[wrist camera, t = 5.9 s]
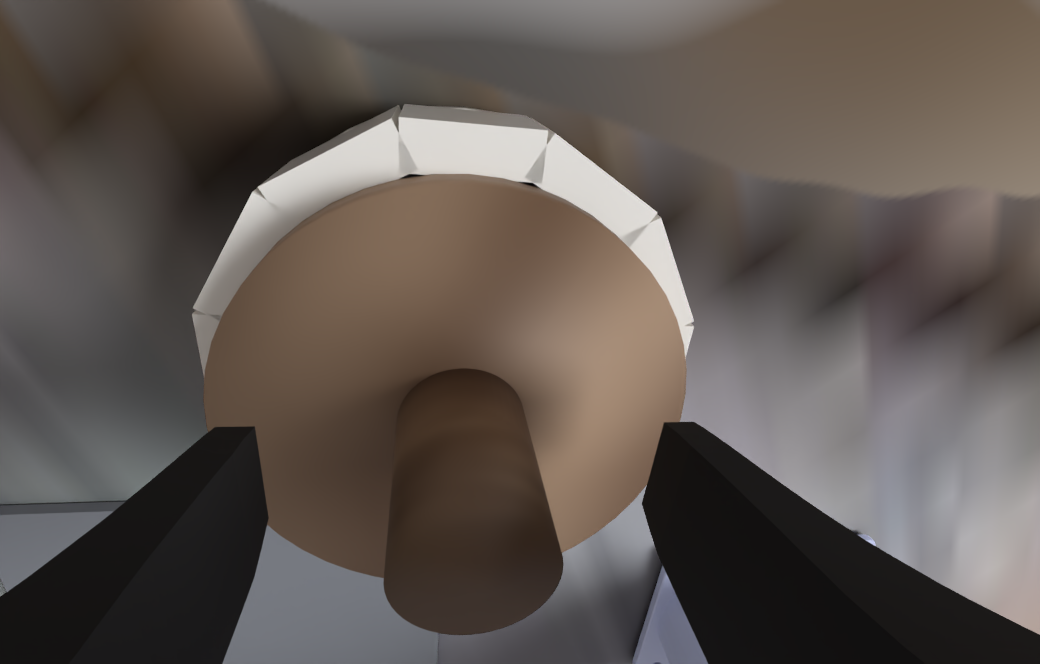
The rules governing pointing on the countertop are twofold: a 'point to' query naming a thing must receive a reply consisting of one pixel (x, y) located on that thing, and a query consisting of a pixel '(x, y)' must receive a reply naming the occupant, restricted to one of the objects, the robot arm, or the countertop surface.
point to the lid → (449, 389)
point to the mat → (252, 595)
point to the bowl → (424, 151)
